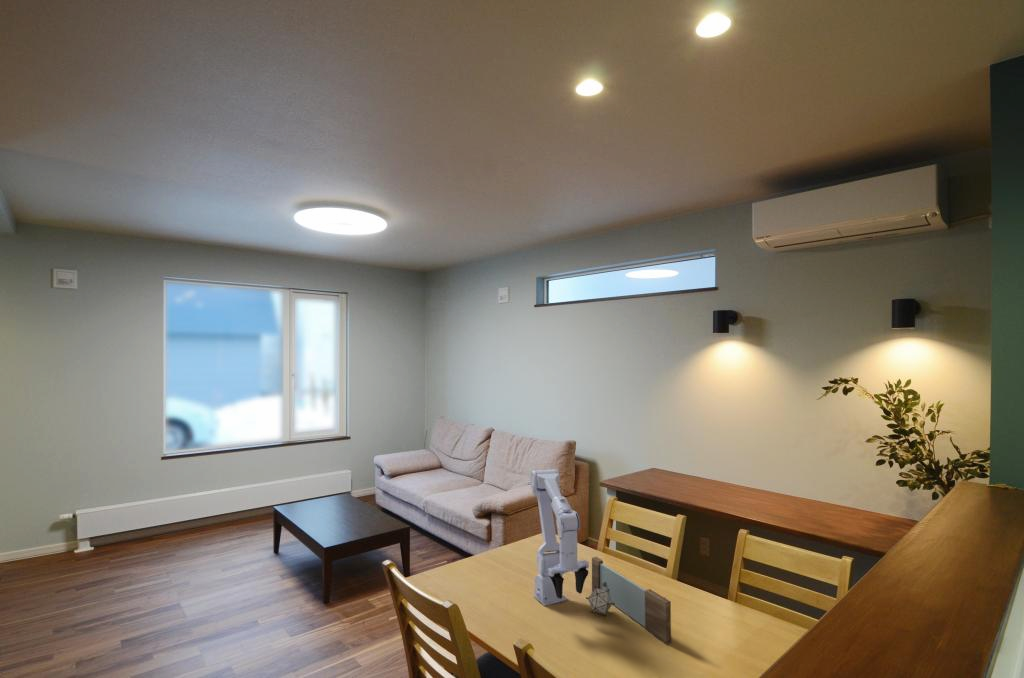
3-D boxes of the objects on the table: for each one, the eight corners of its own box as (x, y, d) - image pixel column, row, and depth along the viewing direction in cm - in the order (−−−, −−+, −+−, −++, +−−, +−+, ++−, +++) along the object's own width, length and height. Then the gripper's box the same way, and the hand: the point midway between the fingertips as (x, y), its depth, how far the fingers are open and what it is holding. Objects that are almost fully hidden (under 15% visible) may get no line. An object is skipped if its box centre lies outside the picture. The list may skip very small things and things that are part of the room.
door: (643, 628, 159) (643, 592, 159) (598, 595, 180) (597, 564, 180) (648, 626, 159) (647, 591, 160) (602, 594, 181) (602, 563, 181)
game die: (600, 627, 166) (593, 610, 161) (586, 607, 173) (578, 590, 169) (622, 611, 168) (615, 593, 164) (607, 591, 176) (600, 574, 171)
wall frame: (665, 644, 150) (665, 602, 151) (592, 591, 184) (591, 557, 184) (671, 642, 151) (670, 601, 151) (596, 590, 185) (596, 556, 185)
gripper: (556, 559, 157) (557, 604, 156) (594, 551, 164) (595, 594, 163) (544, 552, 163) (544, 596, 162) (581, 544, 170) (582, 586, 169)
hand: (569, 594), depth 163 cm, fingers open, 7 cm apart
